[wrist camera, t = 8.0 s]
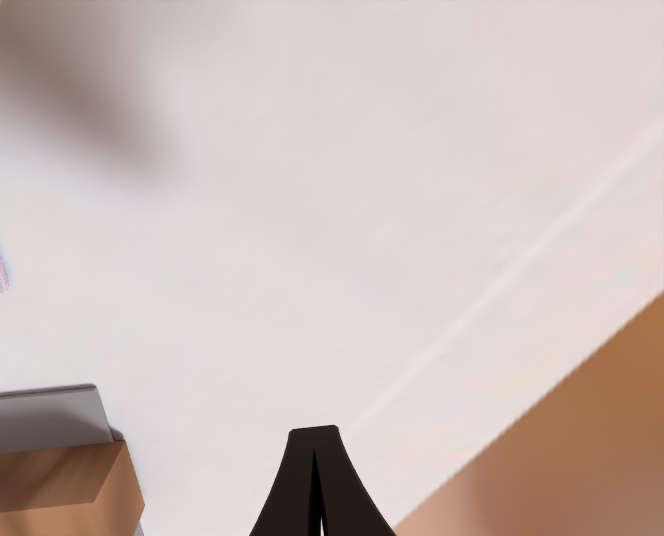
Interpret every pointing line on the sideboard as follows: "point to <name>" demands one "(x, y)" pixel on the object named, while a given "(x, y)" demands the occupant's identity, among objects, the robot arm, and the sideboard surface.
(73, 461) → the walnut block
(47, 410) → the slate rubber mat
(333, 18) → the sideboard surface
